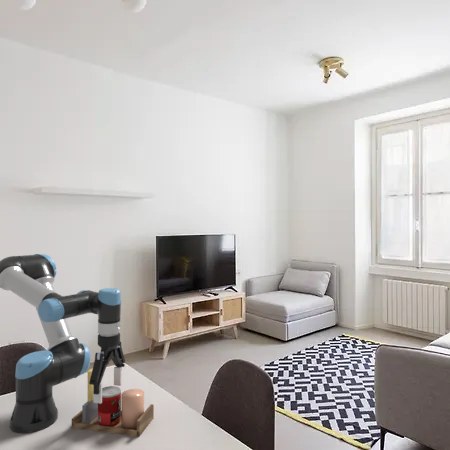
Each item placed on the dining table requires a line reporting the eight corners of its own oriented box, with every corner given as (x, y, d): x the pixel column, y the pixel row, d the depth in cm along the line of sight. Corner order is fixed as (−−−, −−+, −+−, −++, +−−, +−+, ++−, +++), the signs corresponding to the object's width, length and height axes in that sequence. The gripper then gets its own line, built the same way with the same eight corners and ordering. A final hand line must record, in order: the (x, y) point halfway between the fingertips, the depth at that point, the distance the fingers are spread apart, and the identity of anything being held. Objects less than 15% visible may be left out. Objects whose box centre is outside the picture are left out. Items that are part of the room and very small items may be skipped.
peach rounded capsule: (117, 430, 127) (117, 397, 127) (127, 418, 134) (127, 387, 134) (138, 432, 125) (138, 399, 125) (147, 420, 133) (147, 389, 133)
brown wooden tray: (71, 429, 128) (71, 413, 128) (90, 412, 140) (90, 397, 140) (139, 438, 123) (139, 421, 123) (153, 420, 134) (153, 404, 134)
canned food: (114, 428, 127) (114, 396, 127) (93, 426, 129) (93, 394, 129) (125, 417, 135) (125, 387, 135) (104, 415, 137) (104, 384, 137)
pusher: (82, 426, 129) (82, 374, 129) (96, 412, 138) (96, 364, 138) (85, 426, 128) (85, 375, 128) (99, 413, 137) (99, 365, 137)
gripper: (99, 345, 119) (98, 412, 119) (134, 324, 143) (133, 379, 143) (78, 343, 120) (77, 409, 120) (116, 322, 144) (115, 377, 145)
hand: (108, 393), depth 132 cm, fingers open, 13 cm apart
